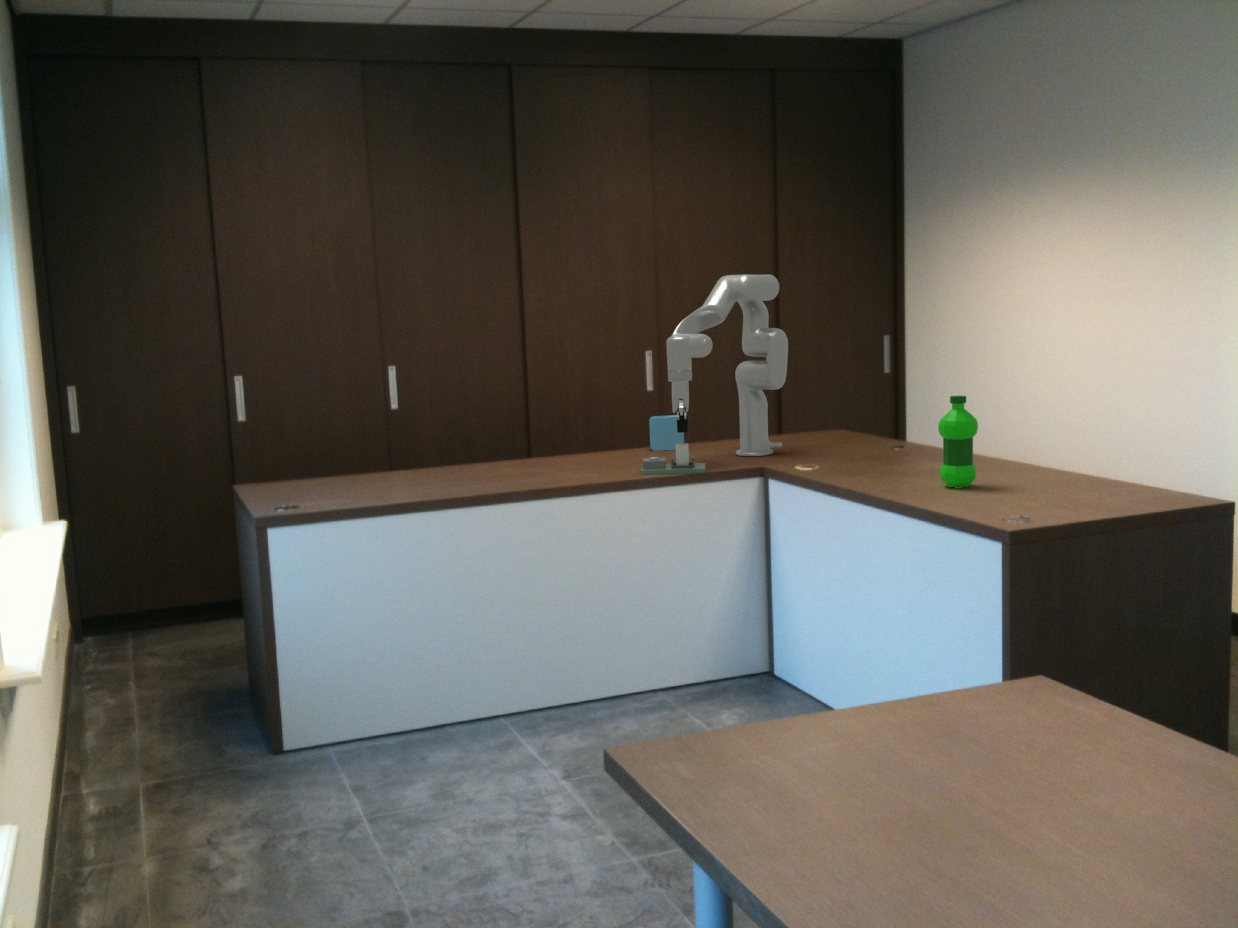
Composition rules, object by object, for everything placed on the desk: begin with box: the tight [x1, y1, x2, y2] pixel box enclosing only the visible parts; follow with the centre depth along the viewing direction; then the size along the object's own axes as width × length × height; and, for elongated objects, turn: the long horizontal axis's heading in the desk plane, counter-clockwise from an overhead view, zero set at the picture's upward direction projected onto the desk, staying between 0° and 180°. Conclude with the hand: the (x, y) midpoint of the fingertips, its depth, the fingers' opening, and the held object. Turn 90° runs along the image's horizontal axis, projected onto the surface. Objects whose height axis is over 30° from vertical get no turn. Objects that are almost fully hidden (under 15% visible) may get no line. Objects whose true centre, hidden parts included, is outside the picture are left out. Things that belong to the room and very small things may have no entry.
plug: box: [675, 442, 690, 465], centre depth 384 cm, size 4×4×7 cm
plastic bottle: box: [937, 395, 979, 488], centre depth 333 cm, size 10×10×25 cm
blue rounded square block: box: [648, 414, 685, 452], centre depth 432 cm, size 12×4×12 cm, turn 90°
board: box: [640, 454, 706, 475], centre depth 384 cm, size 20×12×4 cm, turn 87°
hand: (682, 430), depth 383 cm, fingers open, 9 cm apart
